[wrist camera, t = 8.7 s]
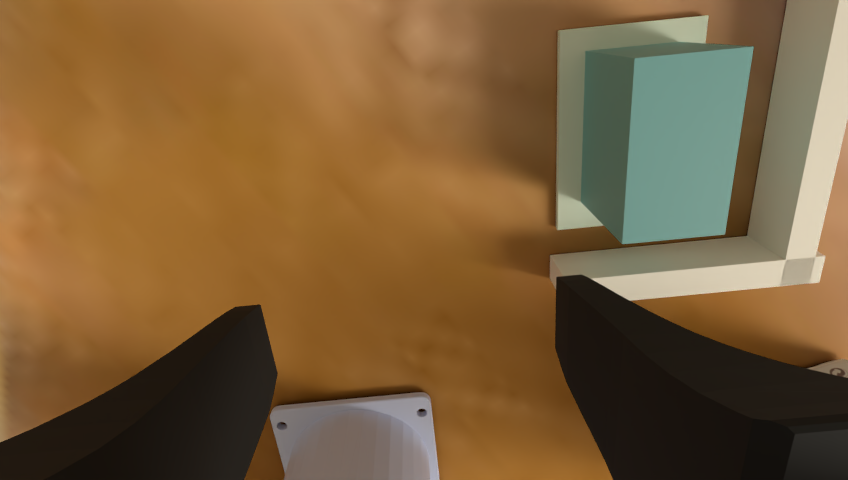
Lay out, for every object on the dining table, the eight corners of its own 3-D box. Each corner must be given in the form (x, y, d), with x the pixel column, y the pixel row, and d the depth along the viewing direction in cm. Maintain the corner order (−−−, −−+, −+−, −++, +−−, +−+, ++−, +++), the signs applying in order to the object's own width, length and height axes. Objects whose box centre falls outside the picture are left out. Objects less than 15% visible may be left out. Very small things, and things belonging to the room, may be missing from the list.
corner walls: (777, 256, 23) (819, 282, 21) (549, 278, 23) (565, 306, 21) (844, -75, 18) (908, -90, 16) (551, -45, 18) (572, -55, 16)
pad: (681, 215, 22) (685, 217, 22) (555, 227, 22) (557, 230, 22) (704, 15, 19) (708, 15, 19) (557, 30, 19) (559, 30, 19)
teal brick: (663, 193, 21) (724, 234, 17) (580, 201, 21) (622, 244, 17) (678, 41, 19) (753, 46, 15) (585, 51, 19) (634, 58, 15)
